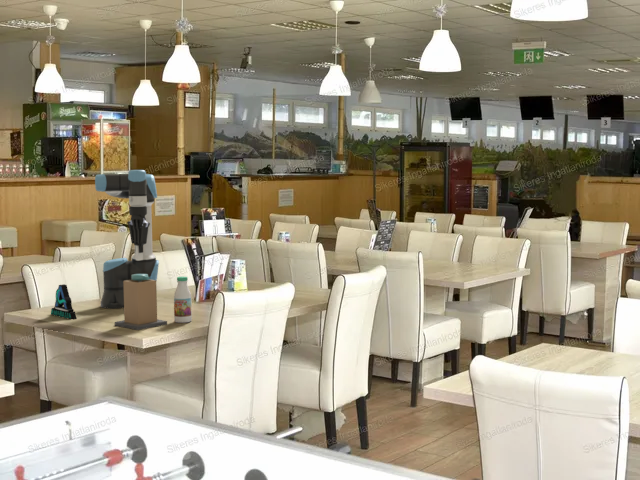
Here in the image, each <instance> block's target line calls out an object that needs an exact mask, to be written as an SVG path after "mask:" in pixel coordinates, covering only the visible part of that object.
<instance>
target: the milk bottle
mask: <svg viewBox="0 0 640 480" xmlns="http://www.w3.org/2000/svg"><path fill="white" fill-rule="evenodd" d="M188 278H189V277H188V276H178V277H176V282H177V286H176V288H175V291H174V295H173V305H174V306H173V310H174V311H173V313H174V314H173V315H174V316H173V319H174V322H175V323H177V324H178V323H179V324H181V323H183V324H184V323H191V322H192V321H193V319H192V318H193V311H192V310H193V309H192V307H193V306H192V305H193V304H192V293H191V291H190V288H189V286H188V281H189V280H188Z"/></svg>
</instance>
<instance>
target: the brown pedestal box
mask: <svg viewBox="0 0 640 480" xmlns="http://www.w3.org/2000/svg"><path fill="white" fill-rule="evenodd" d="M123 283H124V308H123V312H124V315H123V316H124V320H123V319H122V320H117V321H114V326H115V327H121V328H127V329H131V330H136V331H139V330H145V329H150V328H155V326H156V327H161V325H162V326H167V325H168V320H164V319H159V318H158V301H157V300H158V299H157V297H158V296H157V291H158V290H157V289H158V288H157V281H156V280H150V279H149V280H142V282H138V281H135V280H126V281H123Z"/></svg>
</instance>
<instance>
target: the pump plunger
mask: <svg viewBox="0 0 640 480" xmlns="http://www.w3.org/2000/svg"><path fill="white" fill-rule="evenodd" d="M132 280H135V281H138V282H142V280H149V277H148V274H133V275H132Z"/></svg>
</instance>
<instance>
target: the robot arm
mask: <svg viewBox="0 0 640 480" xmlns="http://www.w3.org/2000/svg"><path fill="white" fill-rule="evenodd" d="M94 184H95V185H94V186H95V190H96V191H97V192H102V193H103V192H104V193H106V195H108V196H110V197H113V198H117V199H118V198H119V199H128V204H129V207H128V210H129V211H128V212H129V215H130V216H131V217H130V220H128V221H127V222H126V223H127V226H128V230H129V235H130V240H131V241H130V242H131V244H133V245H134V254H133V255H132V256H131V260H128V258H126V257H120V258H114V259H109V260H106V261H104V262H103V266H102V267H103V268H102V269H103V270H102V272H103V273H102V274H103V293H102V295H101V300H100V308H102V309H124V283H123V281H126V280H132V275H133V274H148V277H149V279H150V280H156V282H157V280H158V274H159V273H158V272H159V264H160V262H159V261H160V260H158V259H157V257H156V255H155V254H154V253H153V251H154V250H153V224H152V223H153V221H152V220H153V219H152V215H153V214H152V212H153V211H152V205H153V204H154V203H155V199H157V198H158V192H157V186H156V185H157V184H156V179H155V175H153V174H152V173H151V174H149V173H147V172H146V170H144V169H131V170H128V173H117V174H115V173H111V174H109V173H101V174H96V175H95V178H94Z"/></svg>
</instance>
